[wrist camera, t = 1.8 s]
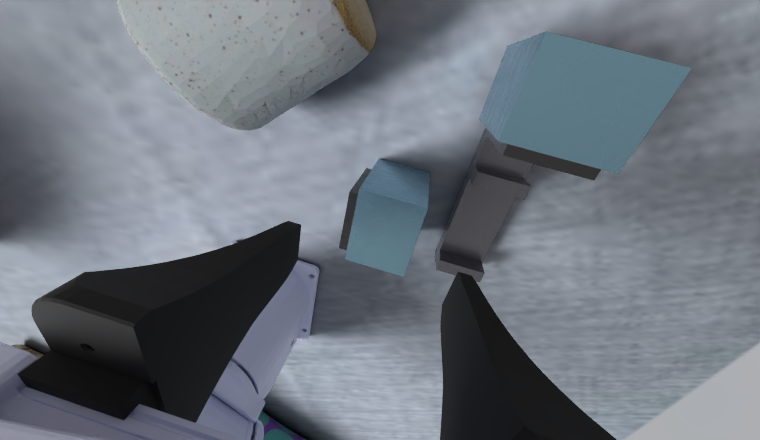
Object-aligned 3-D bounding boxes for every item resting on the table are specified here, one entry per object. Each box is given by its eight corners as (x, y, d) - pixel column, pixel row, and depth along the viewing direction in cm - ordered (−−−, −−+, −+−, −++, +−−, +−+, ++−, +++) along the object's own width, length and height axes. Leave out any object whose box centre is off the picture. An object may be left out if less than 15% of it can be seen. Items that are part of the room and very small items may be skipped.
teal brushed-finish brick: (430, 172, 18) (427, 208, 14) (411, 229, 21) (403, 277, 16) (371, 156, 19) (349, 186, 14) (359, 214, 21) (336, 256, 16)
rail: (484, 266, 21) (502, 341, 15) (425, 249, 21) (421, 316, 15) (591, 64, 14) (698, 59, 8) (504, 42, 14) (550, 21, 9)
